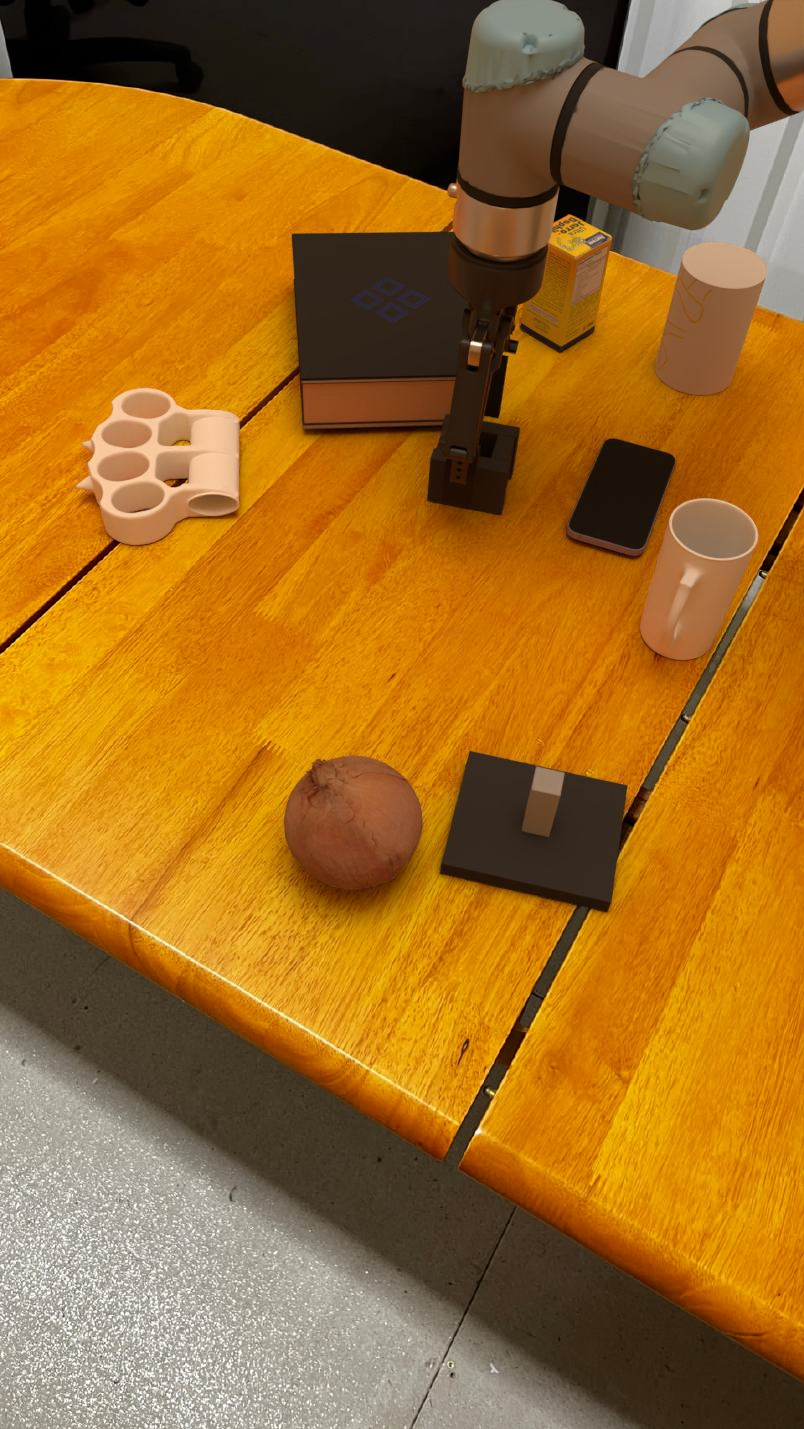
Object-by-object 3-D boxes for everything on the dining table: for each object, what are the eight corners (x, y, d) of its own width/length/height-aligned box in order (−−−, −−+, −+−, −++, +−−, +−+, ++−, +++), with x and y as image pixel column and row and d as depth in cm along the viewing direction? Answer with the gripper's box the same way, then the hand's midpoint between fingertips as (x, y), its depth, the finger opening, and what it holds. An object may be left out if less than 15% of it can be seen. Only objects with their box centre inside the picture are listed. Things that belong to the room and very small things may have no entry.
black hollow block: (513, 469, 105) (520, 427, 101) (501, 515, 101) (507, 473, 97) (442, 456, 105) (445, 413, 101) (426, 501, 101) (430, 458, 98)
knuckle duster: (240, 543, 97) (71, 548, 96) (240, 414, 108) (89, 417, 107) (237, 514, 95) (63, 519, 93) (238, 385, 105) (82, 388, 104)
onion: (303, 864, 81) (240, 775, 75) (408, 794, 83) (354, 700, 76) (352, 945, 74) (286, 854, 68) (466, 866, 75) (412, 769, 69)
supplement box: (553, 308, 121) (569, 212, 112) (595, 332, 119) (614, 236, 110) (517, 329, 119) (530, 232, 110) (559, 354, 116) (577, 257, 107)
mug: (653, 592, 96) (687, 487, 86) (727, 622, 94) (769, 517, 84) (609, 669, 90) (640, 566, 81) (686, 702, 88) (727, 600, 79)
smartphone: (679, 455, 106) (643, 553, 97) (676, 464, 107) (640, 562, 98) (605, 435, 107) (564, 529, 98) (603, 444, 108) (562, 539, 99)
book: (302, 436, 106) (300, 378, 101) (293, 290, 121) (291, 233, 116) (479, 431, 108) (486, 374, 103) (449, 287, 123) (453, 231, 118)
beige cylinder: (650, 345, 118) (677, 239, 108) (726, 350, 118) (760, 244, 108) (658, 392, 113) (687, 286, 103) (737, 397, 113) (773, 291, 103)
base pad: (623, 796, 83) (643, 741, 77) (607, 912, 77) (627, 862, 71) (467, 761, 84) (476, 706, 78) (439, 873, 78) (446, 822, 72)
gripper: (483, 150, 91) (459, 369, 108) (415, 318, 77) (400, 538, 95) (572, 166, 90) (534, 384, 108) (520, 338, 76) (485, 556, 94)
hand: (471, 456), depth 101 cm, fingers open, 12 cm apart
